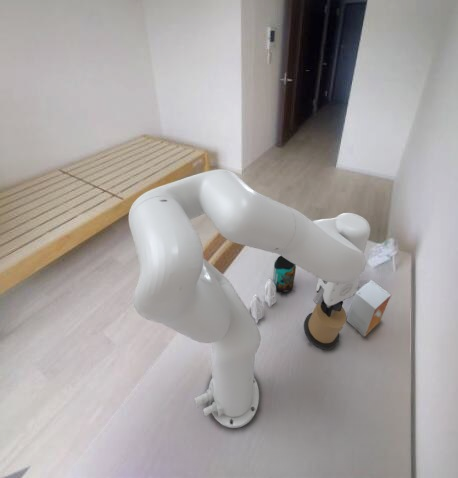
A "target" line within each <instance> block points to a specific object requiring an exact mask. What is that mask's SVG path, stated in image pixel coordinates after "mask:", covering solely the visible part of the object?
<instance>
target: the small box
mask: <svg viewBox="0 0 458 478" xmlns="http://www.w3.org/2000/svg"><path fill="white" fill-rule="evenodd" d="M391 297H392V294H390V292H388V291H387V290H385V289H384V288H382V287H381V286H380V285H379V284H378V283H376V282H375V281H373V280H372V279H370V280H369V281H368V282H366V283H365V284H363V285H362V286H361V287H360V288H358V289H357V292H356V293H355V294H354V295H353V299H352V301H351V303H350V304H351V305H350V308H349V311H348V314H347V316H346V322H348V324H350V325H351V326H352V327H353V328H354V329H355V330H356V331H357V332H358V333H359V334H360V335H362V336H363V337H364V338H365V337H366V336H367V335H368V334H369V333H370V332H372V330H373V329H374V328H375V327H377V325H379V324H380V322H381V321H382V318H383V315H384V313H385V310H386V308H387V306H388V303H389V301H390V299H391Z"/></svg>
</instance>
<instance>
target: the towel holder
mask: <svg viewBox="0 0 458 478" xmlns="http://www.w3.org/2000/svg"><path fill="white" fill-rule="evenodd" d="M315 304H316V303H315ZM332 307H333V308H332V312H331V316H330V317H328V316H327V315H326V314H325V313H324V312H323V311H322V310H321V304H319V305H317V304H316V305H315V307H314V308H313V311H312V312H309V313H308V314H307V315H306V316H305V319H304V322H303V330H304V334H305V336H306V338H307V340H308V341H309V342H310V343H311V344H312V345H314V346H315V347H316V348H318V349H320V350H325V351H326V350H332V349H334V348H335V347H336V346H337V344H338V343H339V340H340V333H341V330H342V328H343V327H344V326H345V325H346V322H347V313H346V310H345V308H344V307H343V306H342V308H341V304H340V302H338V303H336V304H334V305H332ZM340 308H341V311H338V310H340Z"/></svg>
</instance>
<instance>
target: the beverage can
mask: <svg viewBox="0 0 458 478" xmlns="http://www.w3.org/2000/svg"><path fill="white" fill-rule="evenodd" d="M296 270H297V265H295V264H293V263H292V262H290V261H288V260H287V259H285V258H284V257H282V256H281V255H279V256H278V257H277V258H276V260H275V261H274V264H273V275H272V280H273V282H274V284H275V286H276V292H278V293H280V294H283V295H284V294H289V293H291V292H292V291H293V289H294V284H295V276H296Z"/></svg>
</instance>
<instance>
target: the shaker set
mask: <svg viewBox="0 0 458 478" xmlns="http://www.w3.org/2000/svg"><path fill="white" fill-rule="evenodd" d="M277 300H278V297H277V291H276V286H275V284H274V282H273V278H268V279H267V280H266V282H265V285H264V301H265V302H266V303H267V306H268V307H269V308H271V307H272V305H274V304H275V303H277ZM250 314H251V315H252V317H253V319H254V320H255V322H256V324H258V322H259V321H260V320H262V319H263V317H264V304H263V301H262V298H261V297H260V296H259V295H258V294H254V295H253V296H252V298H251V300H250Z"/></svg>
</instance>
